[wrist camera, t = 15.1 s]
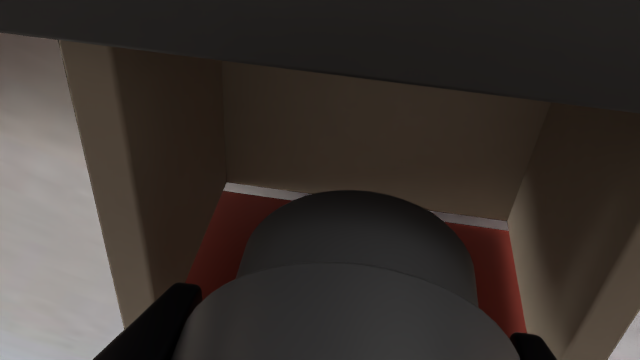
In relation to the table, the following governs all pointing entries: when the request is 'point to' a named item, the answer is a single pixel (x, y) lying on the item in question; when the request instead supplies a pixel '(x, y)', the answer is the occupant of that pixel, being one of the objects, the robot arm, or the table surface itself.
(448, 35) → the dark matchbox-style case
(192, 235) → the filter drawer
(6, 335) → the table surface
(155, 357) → the robot arm
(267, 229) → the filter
